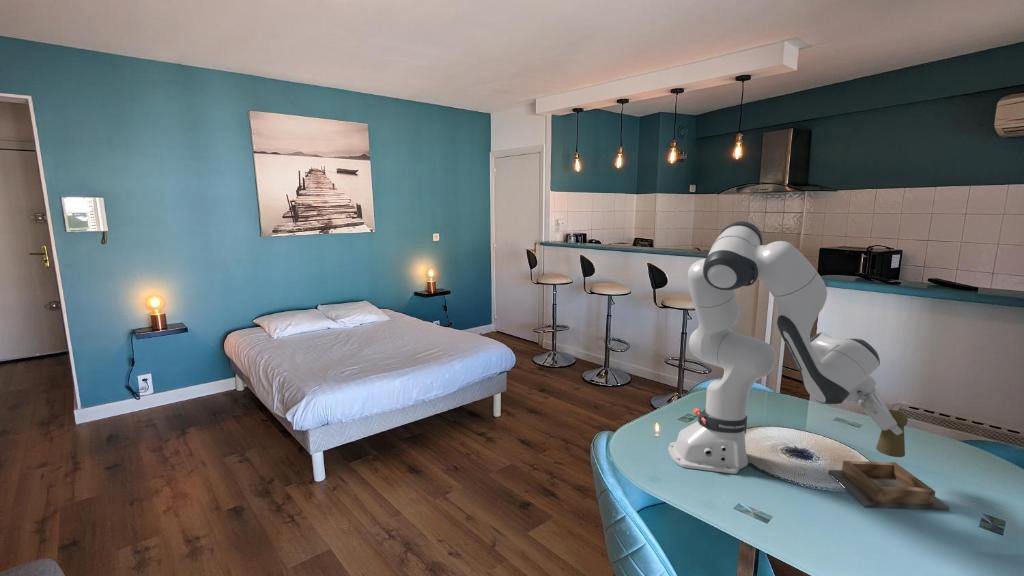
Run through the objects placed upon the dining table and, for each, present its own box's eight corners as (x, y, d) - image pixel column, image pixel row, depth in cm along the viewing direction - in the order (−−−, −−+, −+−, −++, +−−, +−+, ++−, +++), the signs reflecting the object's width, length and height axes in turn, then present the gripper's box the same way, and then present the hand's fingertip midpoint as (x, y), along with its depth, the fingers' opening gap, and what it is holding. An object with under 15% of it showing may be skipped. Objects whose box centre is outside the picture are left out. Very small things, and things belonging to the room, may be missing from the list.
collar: (864, 507, 121) (866, 491, 120) (828, 473, 137) (829, 458, 136) (948, 510, 120) (951, 494, 119) (902, 475, 136) (904, 460, 135)
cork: (906, 459, 122) (912, 418, 120) (877, 453, 125) (882, 413, 124) (903, 449, 127) (908, 410, 125) (874, 443, 130) (879, 405, 129)
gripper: (875, 392, 117) (920, 438, 114) (858, 367, 135) (897, 406, 133) (851, 406, 120) (894, 451, 117) (838, 380, 138) (875, 419, 135)
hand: (896, 427), depth 125 cm, fingers closed on cork, 5 cm apart
